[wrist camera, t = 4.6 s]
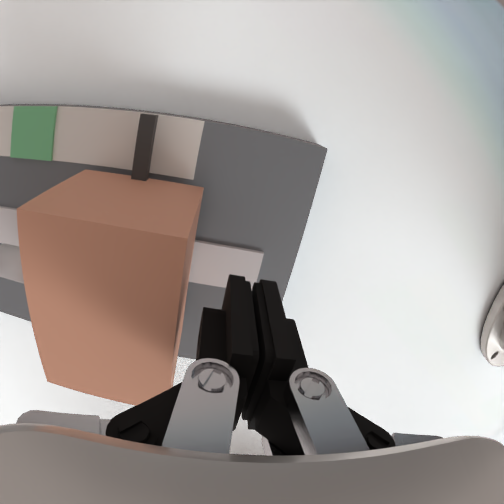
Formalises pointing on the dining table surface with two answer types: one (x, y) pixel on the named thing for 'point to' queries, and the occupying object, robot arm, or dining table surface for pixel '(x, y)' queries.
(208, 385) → the robot arm
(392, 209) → the dining table surface
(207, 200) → the gauge base
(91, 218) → the gauge carriage
